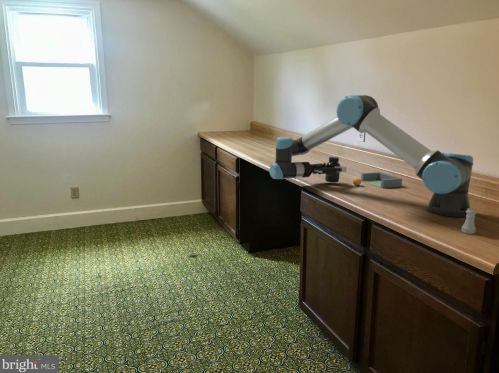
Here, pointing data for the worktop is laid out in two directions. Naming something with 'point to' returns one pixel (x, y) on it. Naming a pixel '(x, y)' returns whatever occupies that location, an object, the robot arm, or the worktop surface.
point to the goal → (381, 180)
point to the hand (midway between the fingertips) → (341, 167)
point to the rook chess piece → (469, 222)
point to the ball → (356, 181)
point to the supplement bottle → (332, 163)
